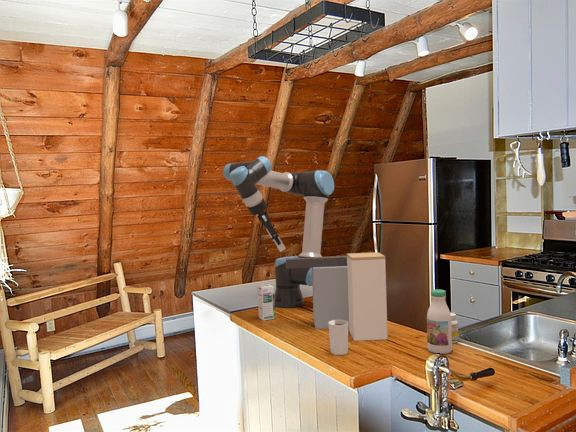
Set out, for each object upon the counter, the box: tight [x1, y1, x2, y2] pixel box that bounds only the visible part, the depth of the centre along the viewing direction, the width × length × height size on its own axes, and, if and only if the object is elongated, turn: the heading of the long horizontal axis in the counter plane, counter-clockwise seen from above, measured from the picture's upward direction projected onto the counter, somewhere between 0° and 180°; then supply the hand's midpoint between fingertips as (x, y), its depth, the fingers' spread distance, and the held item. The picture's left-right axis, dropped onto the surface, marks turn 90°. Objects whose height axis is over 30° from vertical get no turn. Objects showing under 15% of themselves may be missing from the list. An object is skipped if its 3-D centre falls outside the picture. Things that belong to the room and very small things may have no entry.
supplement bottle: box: [450, 312, 459, 344], centre depth 158 cm, size 5×5×10 cm
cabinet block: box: [346, 251, 389, 342], centre depth 167 cm, size 11×12×30 cm
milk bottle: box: [426, 288, 453, 355], centre depth 149 cm, size 8×8×20 cm
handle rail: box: [286, 255, 347, 269], centre depth 181 cm, size 4×26×4 cm, turn 92°
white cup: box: [328, 320, 349, 356], centre depth 151 cm, size 7×7×10 cm
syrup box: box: [256, 283, 276, 322], centre depth 195 cm, size 6×6×14 cm
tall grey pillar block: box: [311, 266, 349, 330], centre depth 182 cm, size 9×14×24 cm, turn 92°
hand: (279, 244), depth 190 cm, fingers open, 13 cm apart
